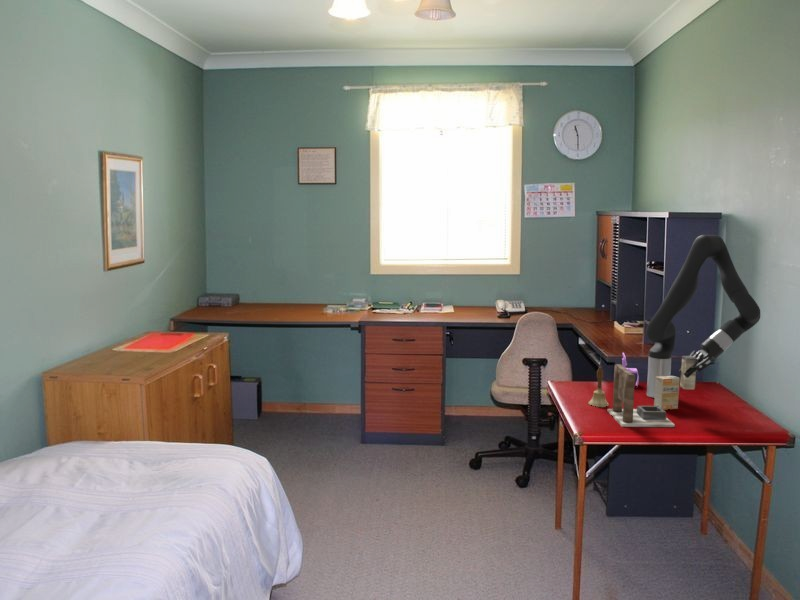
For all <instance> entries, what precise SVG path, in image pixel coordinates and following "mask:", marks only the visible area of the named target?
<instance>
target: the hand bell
mask: <svg viewBox="0 0 800 600" xmlns="http://www.w3.org/2000/svg"><path fill="white" fill-rule="evenodd" d="M596 379H597V387H596V388H597V389H596V390H594V391H593V394H592V397H591V399H590V400H589V401H588V403H587V404H588V405H589V406H591V405H592V406H591V407H595V406H596V407H595V408H607V407H609V406H610V404H609V402H608V401H607V399H606V393H605V391H604V390H602V387H603V385H602V382H603V379H604V369H603V366H598V369H597V370H596ZM606 406H607V407H606Z"/></svg>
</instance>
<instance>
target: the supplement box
mask: <svg viewBox="0 0 800 600" xmlns="http://www.w3.org/2000/svg"><path fill="white" fill-rule="evenodd" d="M680 381H681V377H679V376H675V375H670V376H659V377H658V376H656V384H655V398H654V400H653V406H659V407H660V408H662V409H663V410H664V411H668V409H670V410H678V409H679V408H678V407H679V395H680Z"/></svg>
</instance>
